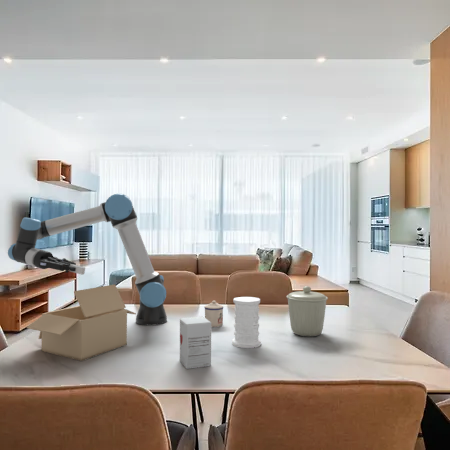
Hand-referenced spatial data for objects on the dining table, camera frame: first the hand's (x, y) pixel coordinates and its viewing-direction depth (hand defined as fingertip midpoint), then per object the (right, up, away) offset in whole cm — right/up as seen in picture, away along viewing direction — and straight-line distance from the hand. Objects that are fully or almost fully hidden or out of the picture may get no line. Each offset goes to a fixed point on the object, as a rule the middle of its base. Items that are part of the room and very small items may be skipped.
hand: (83, 271), depth 153 cm
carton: (+1, -29, -4) cm, 29 cm away
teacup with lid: (+51, -30, +33) cm, 68 cm away
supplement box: (+46, -30, -21) cm, 59 cm away
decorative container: (+65, -30, +2) cm, 72 cm away
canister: (+93, -30, +17) cm, 99 cm away
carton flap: (+13, -15, -10) cm, 22 cm away
